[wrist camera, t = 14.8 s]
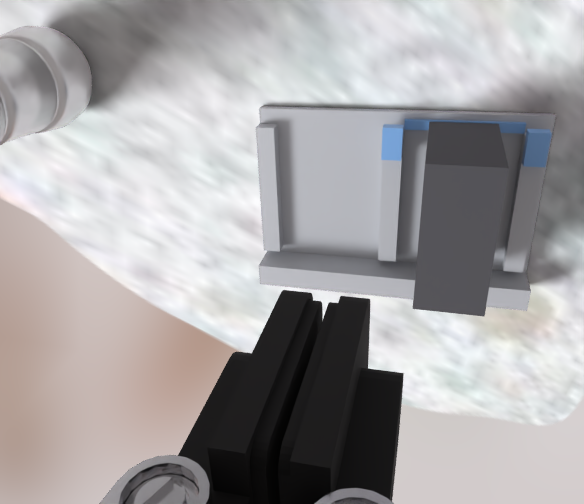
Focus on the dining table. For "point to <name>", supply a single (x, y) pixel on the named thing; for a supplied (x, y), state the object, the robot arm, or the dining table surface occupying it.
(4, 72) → the plastic bottle
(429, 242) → the dark gray block
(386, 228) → the grey tray
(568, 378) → the dining table surface
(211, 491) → the robot arm
